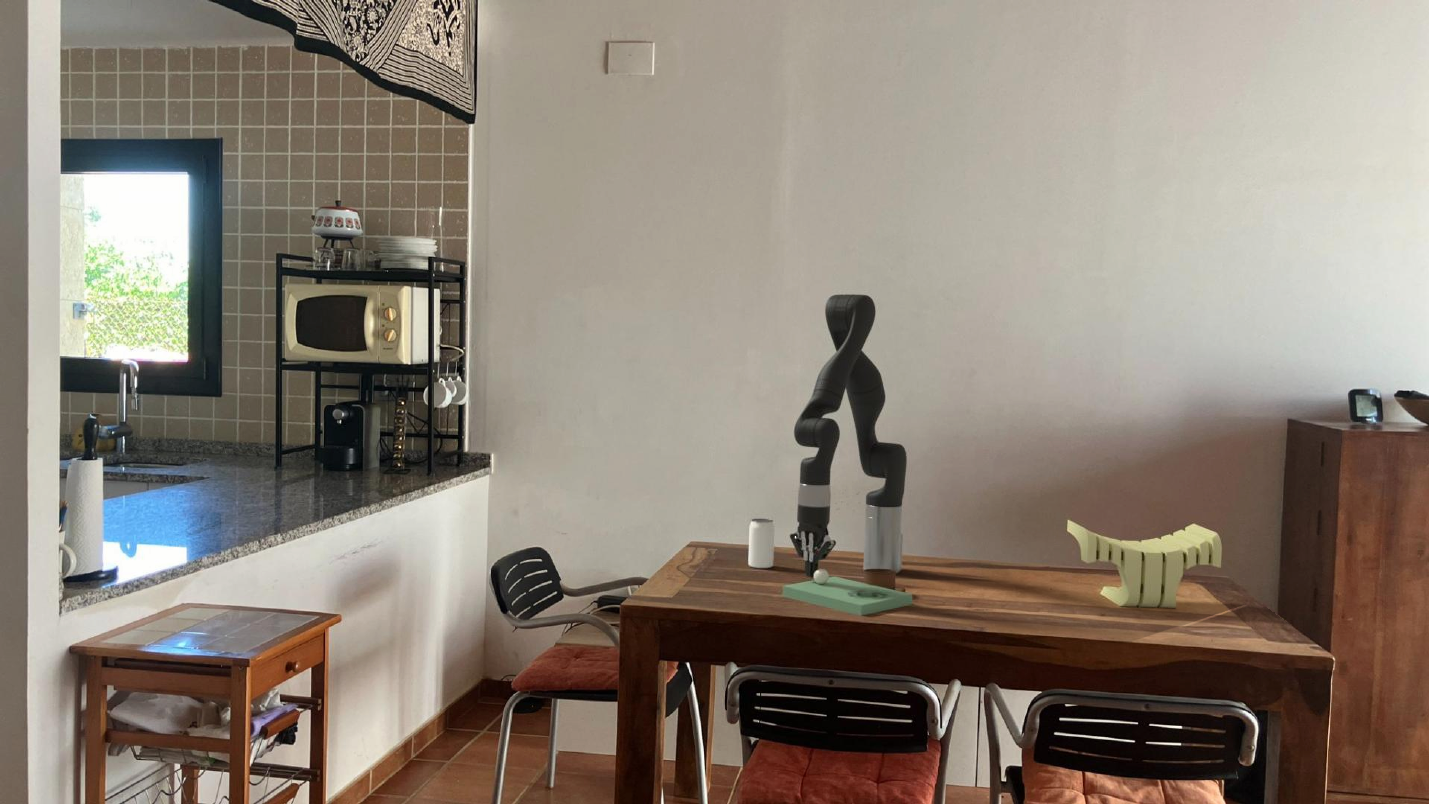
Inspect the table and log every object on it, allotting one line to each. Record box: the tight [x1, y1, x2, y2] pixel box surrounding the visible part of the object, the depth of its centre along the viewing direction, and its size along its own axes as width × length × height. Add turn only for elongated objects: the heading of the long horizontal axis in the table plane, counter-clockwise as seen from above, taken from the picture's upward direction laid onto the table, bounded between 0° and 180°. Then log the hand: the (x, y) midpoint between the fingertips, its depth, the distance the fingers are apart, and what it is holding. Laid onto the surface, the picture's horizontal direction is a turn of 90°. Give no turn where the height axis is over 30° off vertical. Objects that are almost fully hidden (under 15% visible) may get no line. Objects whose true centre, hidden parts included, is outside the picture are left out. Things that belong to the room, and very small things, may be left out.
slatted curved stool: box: [1066, 519, 1223, 609], centre depth 260 cm, size 30×16×18 cm, turn 89°
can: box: [747, 518, 775, 569], centre depth 289 cm, size 6×6×12 cm
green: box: [781, 576, 914, 617], centre depth 252 cm, size 23×18×2 cm
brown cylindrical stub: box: [863, 569, 906, 593], centre depth 261 cm, size 12×12×6 cm
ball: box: [813, 568, 830, 584], centre depth 258 cm, size 4×4×4 cm
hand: (811, 576), depth 260 cm, fingers closed
